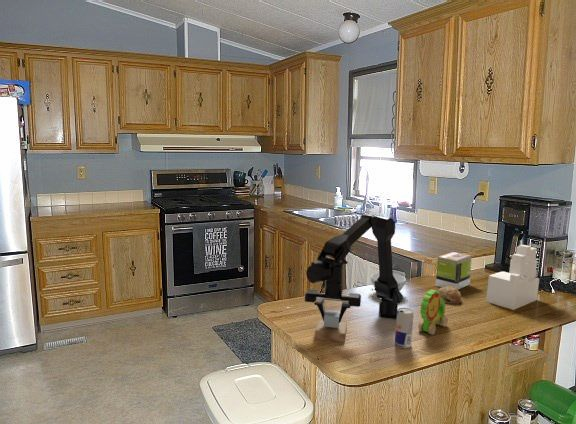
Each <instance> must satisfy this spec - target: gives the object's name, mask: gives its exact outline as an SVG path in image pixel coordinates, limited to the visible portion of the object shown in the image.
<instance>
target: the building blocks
mask: <svg viewBox="0 0 576 424" xmlns="http://www.w3.org/2000/svg"><path fill="white" fill-rule="evenodd" d="M536 257H537V247H533V246H531V245H526V244H519V245H518V246H516V251H515V253H514V254H512V256H511V258H510V264H509V272H508V271H507V272H506V271H504V270H503V271H499V272H496V273H492V274H489V275H488V278H487V279H488V282H487V290H486V298H485V301H486V302H487V303H489V304H492V305H496V306H499V307H502V308H506V309H510V310H512V311H515V310H516V309H519V308H522V307H524V306H526V305H528V304H531V303H533V302H536V301H537V300H538V293H539V286H540V285H539V283H540V278H539V277H538V278H537V277H536V274H537V265H538V260H536V259H537V258H536Z"/></svg>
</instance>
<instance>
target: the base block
mask: <svg viewBox="0 0 576 424" xmlns="http://www.w3.org/2000/svg"><path fill="white" fill-rule="evenodd" d="M347 330H348V322H346V321H341V322H340V323H339V328H334V327H324V321H323V319H318V321H317V324H316V327H315V331H314V340H318V341H328V342H336V343H337V342H339V343H345V342H346V338H347V337H346V335H347Z"/></svg>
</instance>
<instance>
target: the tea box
mask: <svg viewBox="0 0 576 424" xmlns="http://www.w3.org/2000/svg"><path fill="white" fill-rule="evenodd" d="M436 259H437V260H436V273H435V274H436V275H435V276H436V278H435V286H436V287H438V288H443V287H446V286H452V287H454V288H456V289H457V290H458V291H459V290H460V289H463V288H464V287H467V286H469V285H471V284H470V282H471V270H472V255H471V254H465V253H459V252H454V251H451V252H449V253H445V254H442V255H438V256H437V258H436Z"/></svg>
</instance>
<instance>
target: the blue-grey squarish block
mask: <svg viewBox="0 0 576 424" xmlns="http://www.w3.org/2000/svg"><path fill="white" fill-rule="evenodd" d="M340 312H341V310H340V311H339V310H328V309H325V314H324V327H334V328H339V317H340Z"/></svg>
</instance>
